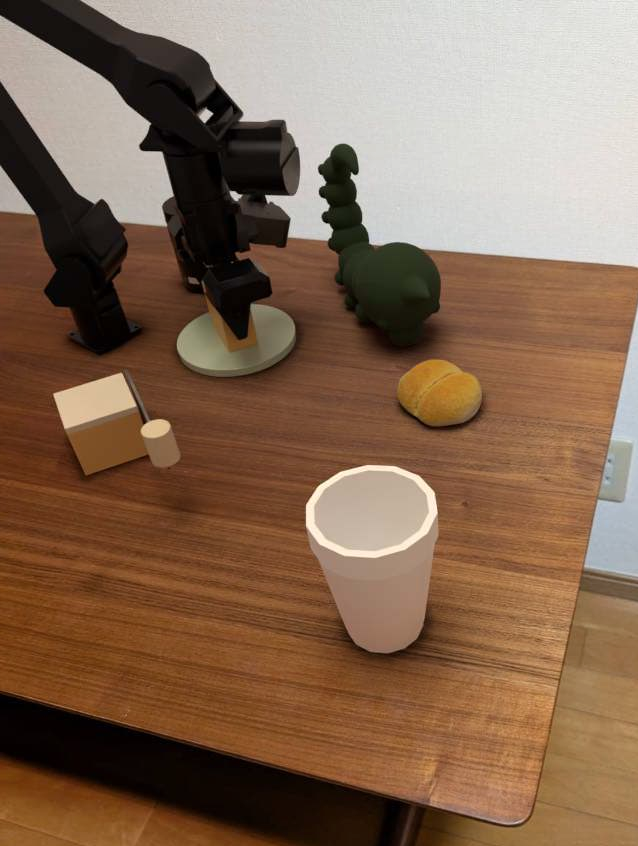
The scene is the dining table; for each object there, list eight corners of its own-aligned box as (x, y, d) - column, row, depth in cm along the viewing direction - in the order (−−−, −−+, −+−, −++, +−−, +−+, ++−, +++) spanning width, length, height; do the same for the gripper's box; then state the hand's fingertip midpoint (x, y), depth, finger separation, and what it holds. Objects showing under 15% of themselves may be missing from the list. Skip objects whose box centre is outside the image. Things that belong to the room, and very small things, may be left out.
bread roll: (442, 440, 84) (441, 408, 81) (386, 402, 89) (383, 371, 86) (500, 405, 87) (501, 373, 84) (443, 370, 92) (442, 338, 89)
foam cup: (328, 584, 72) (306, 471, 62) (434, 573, 72) (429, 458, 62) (330, 675, 65) (306, 564, 56) (447, 663, 65) (443, 551, 56)
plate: (154, 351, 98) (151, 344, 98) (240, 299, 105) (238, 292, 105) (235, 391, 92) (233, 384, 91) (320, 333, 99) (319, 325, 98)
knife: (129, 416, 89) (102, 344, 83) (152, 408, 90) (127, 336, 83) (172, 515, 78) (144, 441, 72) (198, 505, 79) (173, 431, 72)
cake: (73, 440, 88) (52, 393, 83) (138, 418, 89) (121, 372, 85) (85, 475, 83) (64, 428, 79) (153, 452, 85) (136, 405, 81)
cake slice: (213, 326, 100) (201, 280, 95) (240, 318, 100) (230, 272, 96) (229, 352, 95) (218, 306, 91) (258, 343, 96) (248, 297, 92)
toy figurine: (316, 297, 108) (395, 380, 90) (287, 142, 95) (373, 204, 78) (381, 277, 110) (471, 355, 93) (362, 124, 98) (462, 181, 80)
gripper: (307, 205, 82) (327, 342, 93) (246, 143, 94) (270, 271, 105) (198, 235, 79) (232, 372, 90) (149, 167, 91) (185, 296, 102)
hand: (233, 324), depth 97 cm, fingers open, 7 cm apart
